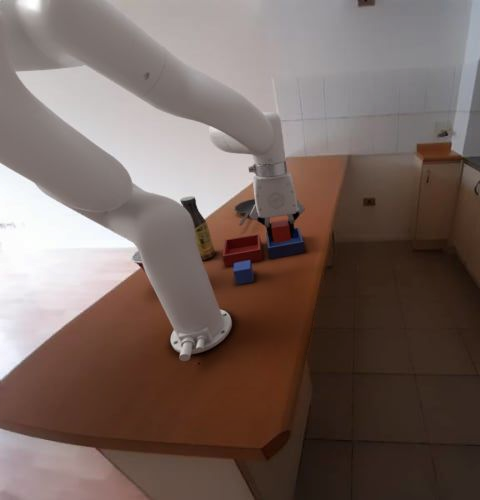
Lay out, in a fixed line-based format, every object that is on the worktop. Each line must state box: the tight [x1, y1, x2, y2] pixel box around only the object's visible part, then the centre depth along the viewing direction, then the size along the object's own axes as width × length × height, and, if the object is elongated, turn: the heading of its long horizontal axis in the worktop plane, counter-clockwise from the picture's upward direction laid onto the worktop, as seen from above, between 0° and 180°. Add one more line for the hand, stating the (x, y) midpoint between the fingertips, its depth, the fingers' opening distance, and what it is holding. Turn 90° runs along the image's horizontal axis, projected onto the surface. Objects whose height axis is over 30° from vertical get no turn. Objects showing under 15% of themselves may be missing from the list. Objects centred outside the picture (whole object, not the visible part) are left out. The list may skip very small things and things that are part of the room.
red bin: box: [222, 233, 264, 268], centre depth 90 cm, size 11×11×4 cm
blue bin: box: [265, 227, 306, 260], centre depth 92 cm, size 11×11×4 cm
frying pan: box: [234, 198, 258, 226], centre depth 117 cm, size 18×32×4 cm, turn 1°
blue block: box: [232, 260, 255, 286], centre depth 78 cm, size 4×4×4 cm
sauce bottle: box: [180, 195, 216, 261], centre depth 87 cm, size 6×6×20 cm
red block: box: [270, 218, 291, 243], centre depth 75 cm, size 4×4×4 cm
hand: (281, 236), depth 76 cm, fingers closed on red block, 4 cm apart
